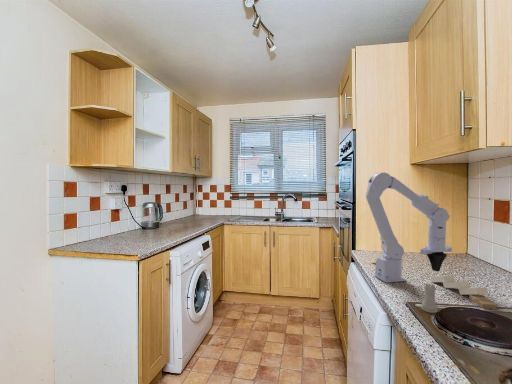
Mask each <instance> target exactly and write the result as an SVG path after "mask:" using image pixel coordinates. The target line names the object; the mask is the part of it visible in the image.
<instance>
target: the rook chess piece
mask: <svg viewBox="0 0 512 384" xmlns="http://www.w3.org/2000/svg"><path fill="white" fill-rule="evenodd" d="M423 288H424V290H425V291H424V299H423V301H422V302H421V306H420V307H421V309H422V311H424V312H426V313H429V314H436V313H437V312H438V311H439V310H438V308H439V307H438V305H437V303H436V299H435V295H436V293H435V292H436V290H437V289H436V286H435V285H434V284H430V283H425V285H424V286H423Z"/></svg>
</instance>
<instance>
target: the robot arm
mask: <svg viewBox="0 0 512 384" xmlns="http://www.w3.org/2000/svg"><path fill="white" fill-rule="evenodd" d="M387 189H391V190H395V191H396V192H398V193H399V194H401V195H402V196H404V197H405V198H407V199H409V200H410V201H411V205H412V207H413V208H415V209H417V210H418V211H420V212H421V213H422V214H423V215H425V216H426V218H427V219H428V232H427V233H428V236H427V237H428V239H427V245H425V247H423V248H420V254H421V255H424V256H425V255H426V256H427V258H428V260H429V263H430V266H431V270H432V271H434V272H437V273H438V272H440V270H441V268H442V265H443V262H444V261H445V259H446V258H447V256H448V254H447V252H449V253H452V252H453V247H452V246H449V245H446V234H447V233H446V232H447V221H448V220H449V219H450V216H451V215H449V212H448V210H447V209H445V208H443V207H440V204H439V203H437V202H434V201H432V200H431V199H430V198H429V196H428V195H427V194H423V193H421V194H417V193H415V192H414V191H413V190H412V189H410V188H409V187H408V186H406V185H405V184H404V183H402V182H401V181H400V180H399V179H397V178H396V177H394V176H392V175H390V174H389V173H387V172H376V173H374V174H372V175H371V177H370V178H369V180H368V182H367V188H366V192H365V199H366V201H367V204H368V206H369V209H370V212H371V214H372V217H373V219H374V222H375V225H376V227H377V229H378V233H379V235H380V241H381V250H382V252H383V253H382V254H381V255H382V256H381V257H379V258H376V260H375V265H374V266H375V269H374V271H375V273H374V275H373V276H374V277H375V278H377V279H379V280H381V281H382V282H384V283H388V284H389V283H397V282H398V283H399V282H407V281H408V280H407V279H406V278H404V277H402V269H403V267H402V262H403V256H404V254H405V250H404V247H403V246H402V245H401V244H400V243H399V242H398V239H397V238H396V236H395V234H394V231H393V228H392V226H391V224H390V221H389V219H388V216H387V214H386V212H385V208H384V206H383V204H382V201H381V196H382V195H383V193H384V191H386V190H387Z"/></svg>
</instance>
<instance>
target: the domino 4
mask: <svg viewBox="0 0 512 384" xmlns="http://www.w3.org/2000/svg"><path fill="white" fill-rule="evenodd" d="M468 296H469V297H468V299H469V300H470V301H471V302H473V303H474V302H475V303H474V304H476V305H477V304H478V305H479V306H478V305H477V306H478V307H480V306H481V307H482V308H481V307H480V308H481V309H483V308H495V309H494V310H496V309H498V305H497V304H496V303H495V302H494V301H492V300H490V299H489V298H487V297H486V296H485V295H484V294H468Z"/></svg>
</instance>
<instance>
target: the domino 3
mask: <svg viewBox="0 0 512 384" xmlns="http://www.w3.org/2000/svg"><path fill="white" fill-rule="evenodd" d="M458 292H459V295H460V296H462V295H468V296H469V294H471V295H486V294H489V291H488V289H487V287H486V286H485V287H484V286H483V287H482V286H480V287H479V286H478V287H470V288H462V289H458Z"/></svg>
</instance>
